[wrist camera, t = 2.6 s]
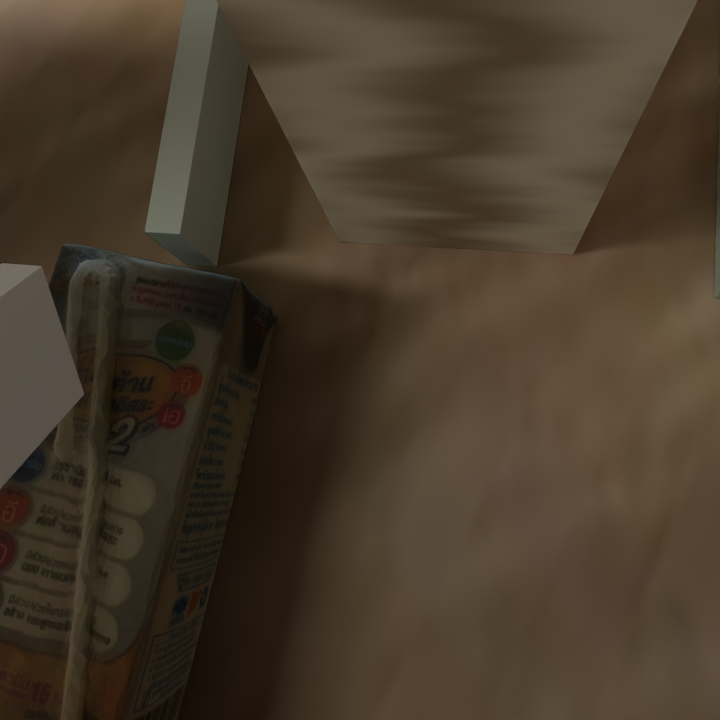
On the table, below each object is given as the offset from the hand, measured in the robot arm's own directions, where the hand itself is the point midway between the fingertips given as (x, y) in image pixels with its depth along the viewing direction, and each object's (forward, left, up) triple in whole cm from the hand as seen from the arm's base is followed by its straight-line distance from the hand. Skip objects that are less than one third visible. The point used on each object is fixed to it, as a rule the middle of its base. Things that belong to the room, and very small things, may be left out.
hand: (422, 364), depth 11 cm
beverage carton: (-10, -8, -17) cm, 21 cm away
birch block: (-4, +9, -16) cm, 19 cm away
